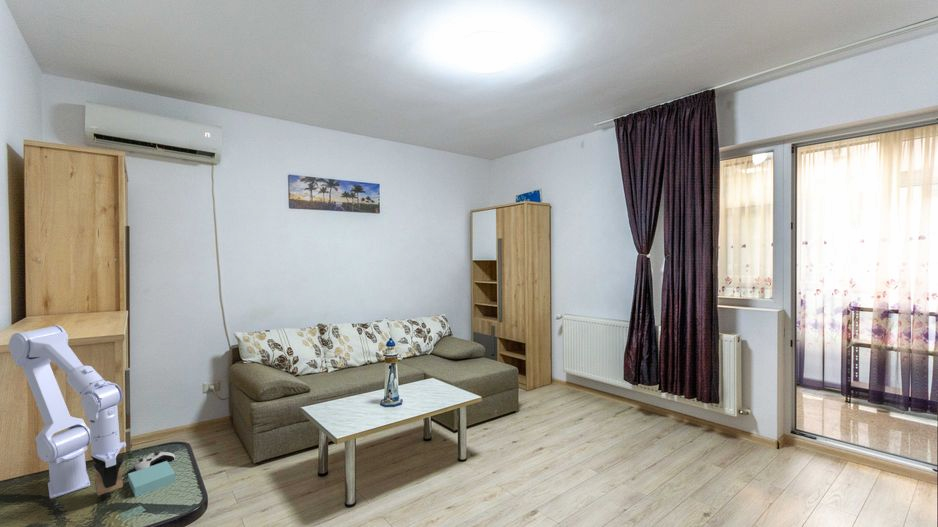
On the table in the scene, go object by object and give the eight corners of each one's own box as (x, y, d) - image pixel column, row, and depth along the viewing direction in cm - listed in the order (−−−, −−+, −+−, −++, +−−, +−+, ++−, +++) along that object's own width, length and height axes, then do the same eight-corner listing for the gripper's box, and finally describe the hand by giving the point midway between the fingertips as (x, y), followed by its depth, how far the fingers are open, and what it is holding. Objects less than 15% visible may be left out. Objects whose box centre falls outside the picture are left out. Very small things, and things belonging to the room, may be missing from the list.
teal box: (128, 484, 120) (128, 473, 120) (167, 470, 127) (166, 460, 126) (135, 498, 114) (134, 487, 114) (175, 483, 120) (174, 473, 120)
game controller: (147, 474, 123) (134, 458, 123) (138, 485, 124) (125, 469, 125) (178, 457, 132) (166, 441, 132) (169, 467, 133) (157, 452, 134)
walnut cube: (95, 487, 114) (94, 469, 113) (119, 478, 117) (118, 461, 117) (98, 495, 110) (96, 476, 110) (122, 486, 114) (121, 468, 114)
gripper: (129, 436, 110) (133, 486, 112) (119, 418, 120) (123, 464, 122) (93, 446, 105) (97, 499, 107) (85, 426, 115) (89, 475, 117)
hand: (108, 481), depth 114 cm, fingers closed on walnut cube, 5 cm apart
